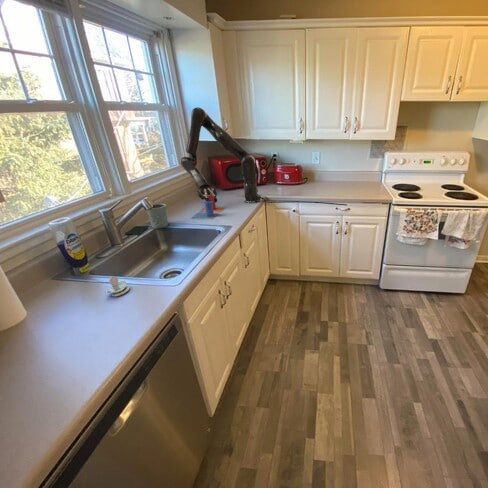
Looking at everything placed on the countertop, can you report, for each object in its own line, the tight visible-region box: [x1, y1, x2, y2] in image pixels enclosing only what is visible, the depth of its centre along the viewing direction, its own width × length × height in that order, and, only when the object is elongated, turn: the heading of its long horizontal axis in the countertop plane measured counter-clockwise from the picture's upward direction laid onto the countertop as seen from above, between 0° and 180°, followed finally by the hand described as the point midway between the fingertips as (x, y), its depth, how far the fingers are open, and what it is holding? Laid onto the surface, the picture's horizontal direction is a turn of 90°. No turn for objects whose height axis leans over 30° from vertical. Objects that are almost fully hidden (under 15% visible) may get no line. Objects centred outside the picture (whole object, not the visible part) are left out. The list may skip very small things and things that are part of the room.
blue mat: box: [191, 212, 219, 219], centre depth 179 cm, size 13×10×1 cm
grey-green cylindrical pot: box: [146, 203, 169, 229], centre depth 161 cm, size 10×10×12 cm
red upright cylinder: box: [207, 195, 217, 210], centre depth 189 cm, size 5×5×9 cm
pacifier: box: [105, 275, 131, 297], centre depth 101 cm, size 7×6×6 cm
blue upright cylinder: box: [204, 201, 215, 218], centre depth 177 cm, size 5×5×9 cm
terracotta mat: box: [201, 207, 225, 213], centre depth 191 cm, size 13×9×1 cm
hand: (213, 202), depth 188 cm, fingers closed on red upright cylinder, 4 cm apart
